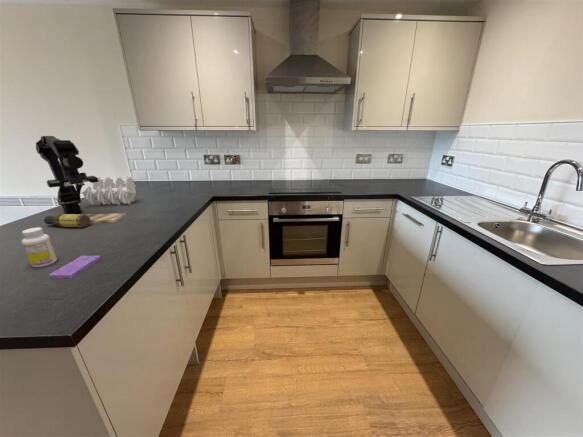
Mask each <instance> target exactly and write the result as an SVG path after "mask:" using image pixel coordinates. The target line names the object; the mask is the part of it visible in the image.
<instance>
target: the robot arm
mask: <svg viewBox="0 0 583 437" xmlns="http://www.w3.org/2000/svg"><path fill="white" fill-rule="evenodd" d="M35 150H36V152H37V154H39V156H40V158H41V159H43V160H44V161H45V162H47V164H48V166H49V169H50V171H51V173H52V175H53V178H54V179H47V180H46V184H47V187H48V188H58V190H57V198H56V200H57V204H58V206H61V207H62V209H63V212H64V214H83V213H84V211H82V209H81V206H80V204H81V203H82V200H81V191H82V188H83V187H84V186H85V185H86V184H85V183H86V182H89V183H90V184H93V183H94V182H98V177H97V176H95V175H87V173H86V172H80V171H79V169H81V168H82V167H83V166H84V161H83V159H82V158H81V157H79V156H78V155H80V154H79V153H80V152H79V149H78V148H77V147H76V145H75V144H74V142H72V141H71V140H69V139H67V140H66V139H64V140H63V139H59V138H56V136H54V135H42V136H40V139H39V140H37V141H36V143H35Z"/></svg>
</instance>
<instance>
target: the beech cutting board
mask: <svg viewBox="0 0 583 437" xmlns="http://www.w3.org/2000/svg"><path fill="white" fill-rule="evenodd" d="M85 215H87V216H89V218H90V223H92V224H93V223H94V224H95V223H97V224H98V223H115V222H117V221H118V220H120V219H123V218H124V217H126V216H127V214H126V213H124V212H123V213H121V212H119V213H86V214H85ZM90 223H89V224H90Z"/></svg>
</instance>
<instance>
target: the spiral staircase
mask: <svg viewBox="0 0 583 437" xmlns="http://www.w3.org/2000/svg"><path fill="white" fill-rule="evenodd" d="M97 178H98V182H94V183H92V187H91V186H90V185H88V186H87V187H86V188H85V189H84V190H83V191H82V195H83V197H84V198H85V199H86V201H87V202H88V203H91V205H97V206H99V205H101V204H103V205H107V204H108V205H111V203H112V204H114V205H117V206H120V205H121V203H122V204H128V205H130V204H131V203H134V201H135V200H134V199H135V197H137V196H136V194H137V190H136V186H137V185H136V183H135V180H134V179H132V177H131V176H130V177H126V179H125V180H123V179H122V177H118V176H117V177H116V179H115V180H113V178H110V176H107V177H105V178H104V179H101V177H97Z"/></svg>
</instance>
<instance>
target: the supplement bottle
mask: <svg viewBox="0 0 583 437" xmlns="http://www.w3.org/2000/svg"><path fill="white" fill-rule="evenodd" d="M21 232H22V235H23V237H24V238H23V239H22V240H21V244H22V247H23V249H24V251H25V253H26V255H27V259H28V261H29V263H30V266H32V267H33V268H42V267H46V266H50V265H52V264H54V263H55V262H57V260H58V257H57V253H56V251H55V248H54V245H53V243H52V240H51V237H50V235H48V234H45V233H44V230H43V228H42V227H39V226H38V227H31V228H28V229H27V228H26V229H24V230H23V231H21Z"/></svg>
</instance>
